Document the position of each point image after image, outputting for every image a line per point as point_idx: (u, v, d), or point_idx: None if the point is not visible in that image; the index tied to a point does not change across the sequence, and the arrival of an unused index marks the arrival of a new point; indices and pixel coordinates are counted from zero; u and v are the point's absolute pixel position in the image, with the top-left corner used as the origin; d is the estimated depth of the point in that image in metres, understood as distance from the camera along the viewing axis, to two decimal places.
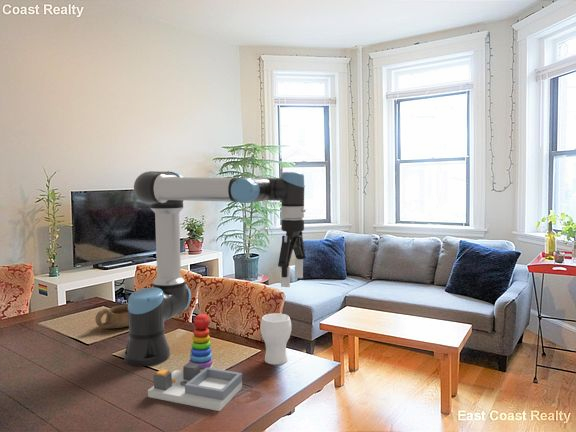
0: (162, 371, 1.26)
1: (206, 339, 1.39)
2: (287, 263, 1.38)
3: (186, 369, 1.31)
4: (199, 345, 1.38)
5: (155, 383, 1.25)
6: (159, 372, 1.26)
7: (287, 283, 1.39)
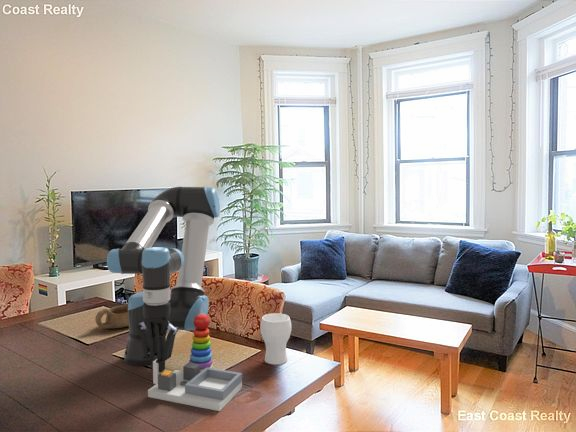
0: (166, 372, 1.26)
1: (206, 339, 1.39)
2: (150, 356, 1.26)
3: (186, 369, 1.31)
4: (199, 345, 1.38)
5: (159, 384, 1.25)
6: (163, 373, 1.25)
7: None
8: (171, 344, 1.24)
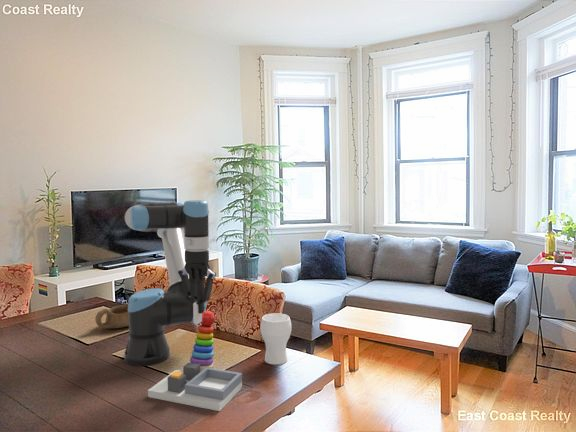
0: (176, 373, 1.25)
1: (210, 336, 1.41)
2: (190, 299, 1.38)
3: (186, 369, 1.31)
4: (202, 341, 1.40)
5: (169, 386, 1.24)
6: (173, 374, 1.24)
7: None
8: (210, 288, 1.37)
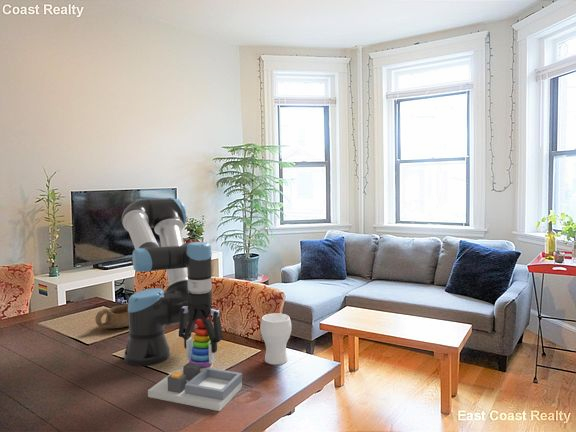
0: (176, 373, 1.25)
1: (207, 338, 1.40)
2: (184, 335, 1.42)
3: (186, 369, 1.31)
4: (199, 343, 1.39)
5: (169, 386, 1.24)
6: (173, 374, 1.24)
7: None
8: (219, 326, 1.38)
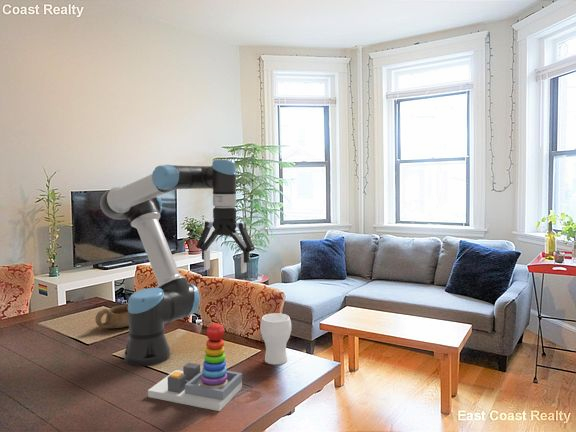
0: (176, 373, 1.25)
1: (220, 352, 1.24)
2: (202, 246, 1.46)
3: (186, 369, 1.31)
4: (212, 358, 1.23)
5: (169, 386, 1.24)
6: (173, 374, 1.24)
7: None
8: (247, 236, 1.41)
